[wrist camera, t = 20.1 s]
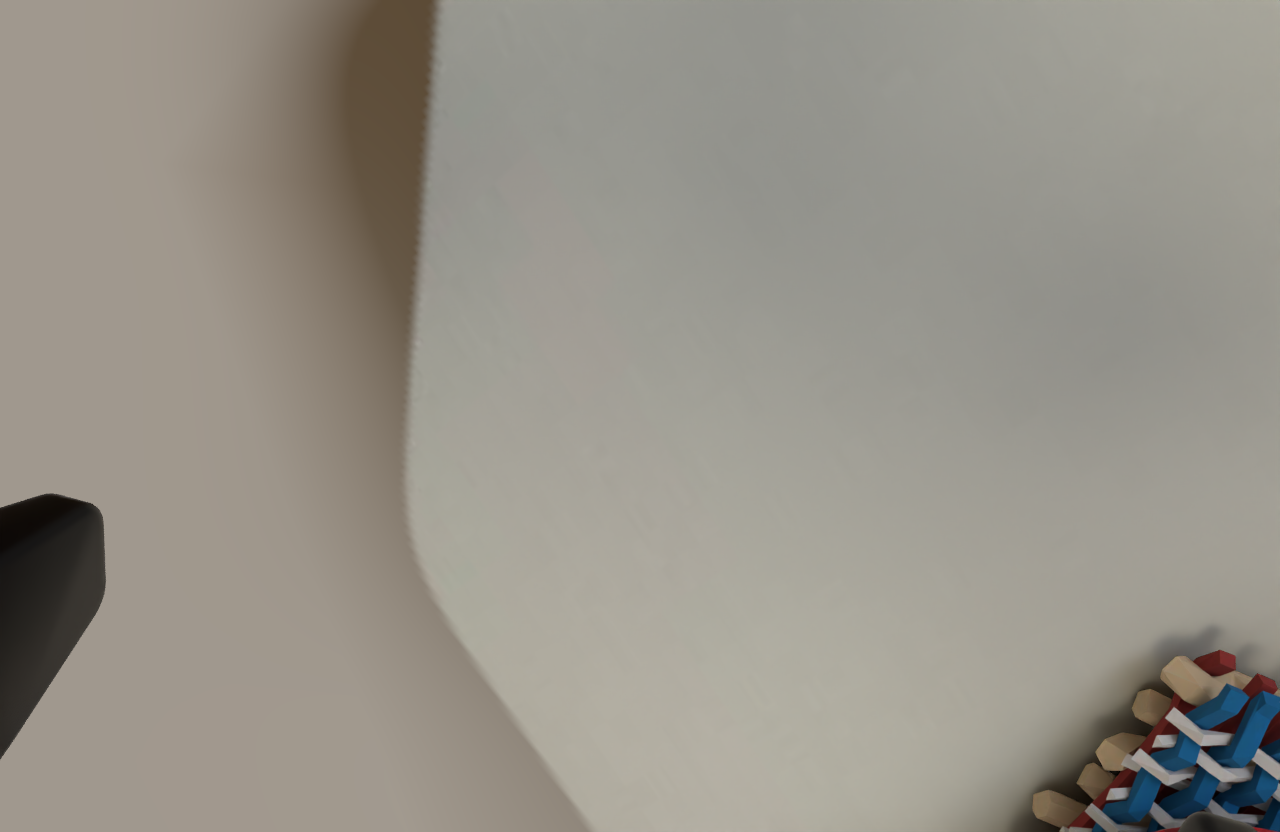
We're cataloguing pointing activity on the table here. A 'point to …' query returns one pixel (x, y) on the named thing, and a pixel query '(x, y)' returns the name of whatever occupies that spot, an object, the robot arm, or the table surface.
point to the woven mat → (1184, 756)
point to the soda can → (1175, 830)
